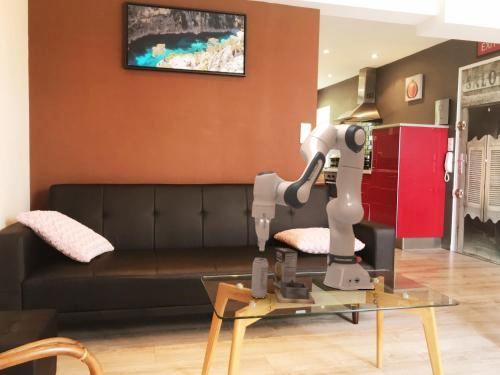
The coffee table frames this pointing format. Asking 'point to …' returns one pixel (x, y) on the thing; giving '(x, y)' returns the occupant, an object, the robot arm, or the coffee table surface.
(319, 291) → the coffee table surface
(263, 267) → the energy drink can
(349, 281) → the robot arm
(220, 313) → the coffee table surface
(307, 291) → the can stand
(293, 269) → the coffee box
